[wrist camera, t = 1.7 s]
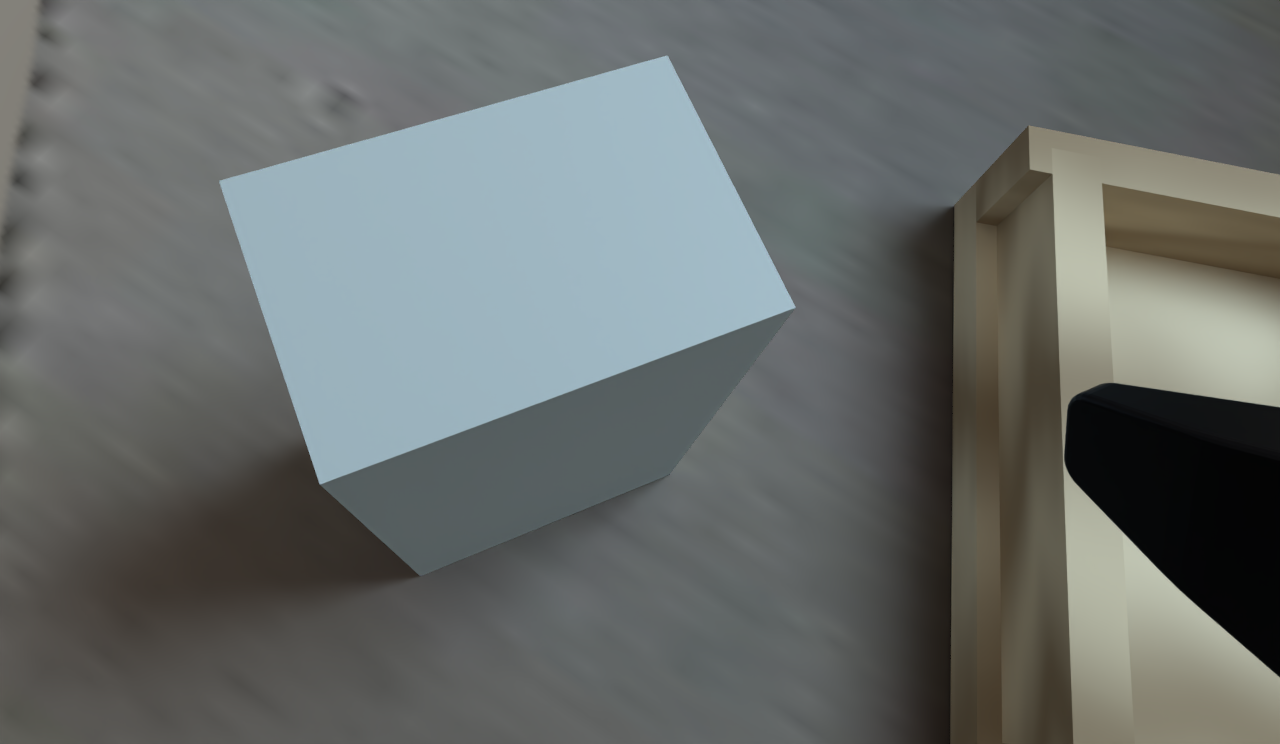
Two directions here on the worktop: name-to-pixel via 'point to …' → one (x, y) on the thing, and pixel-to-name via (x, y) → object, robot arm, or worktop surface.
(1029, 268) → the wooden tray
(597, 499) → the pale blue box
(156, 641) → the worktop surface
